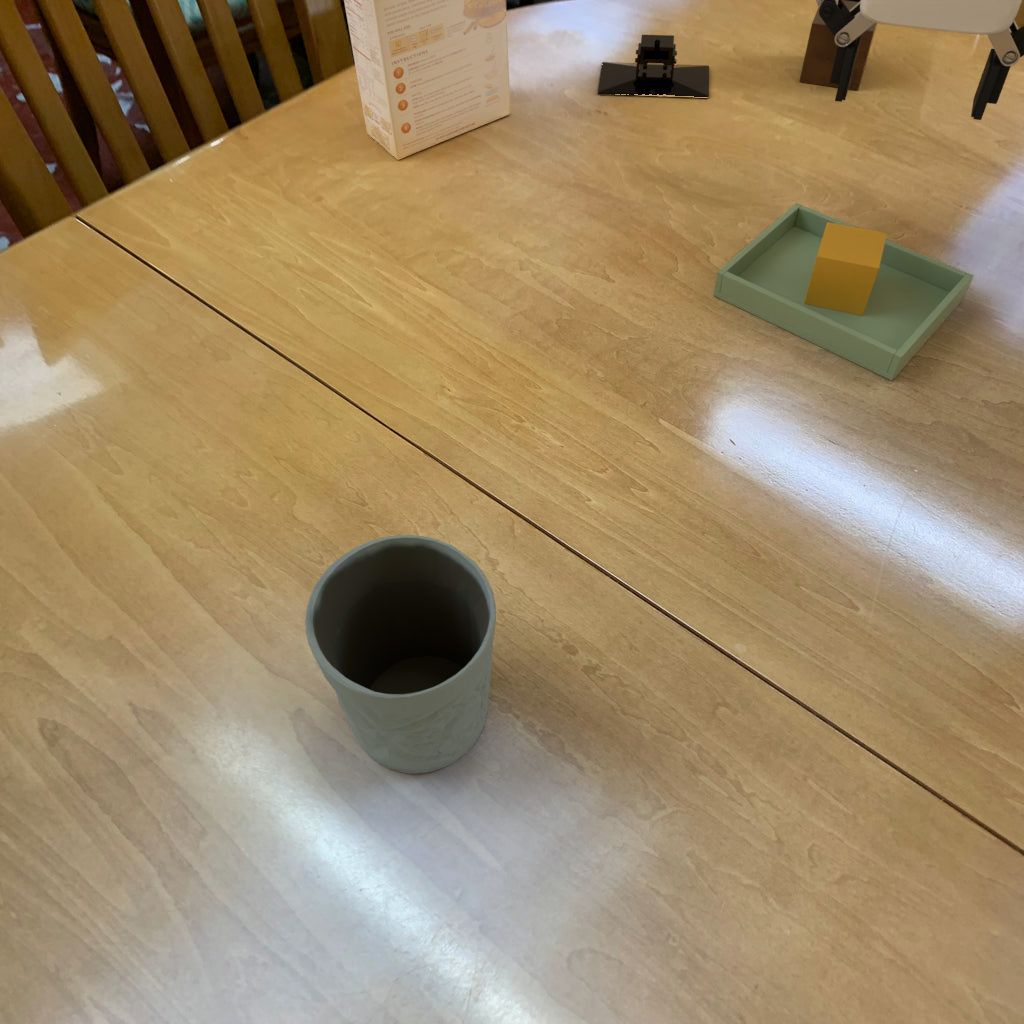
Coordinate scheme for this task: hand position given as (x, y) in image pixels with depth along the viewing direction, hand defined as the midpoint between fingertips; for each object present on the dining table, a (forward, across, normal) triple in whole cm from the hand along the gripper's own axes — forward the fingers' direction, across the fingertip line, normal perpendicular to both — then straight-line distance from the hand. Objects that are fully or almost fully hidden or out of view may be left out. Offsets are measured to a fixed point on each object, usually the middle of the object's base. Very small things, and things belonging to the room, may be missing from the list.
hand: (908, 101), depth 69 cm
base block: (+18, +8, -38) cm, 42 cm away
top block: (+16, +1, +2) cm, 17 cm away
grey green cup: (+16, +19, +51) cm, 57 cm away
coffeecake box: (+17, +46, -14) cm, 51 cm away
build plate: (+17, +27, -30) cm, 44 cm away
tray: (+17, +1, +2) cm, 17 cm away
